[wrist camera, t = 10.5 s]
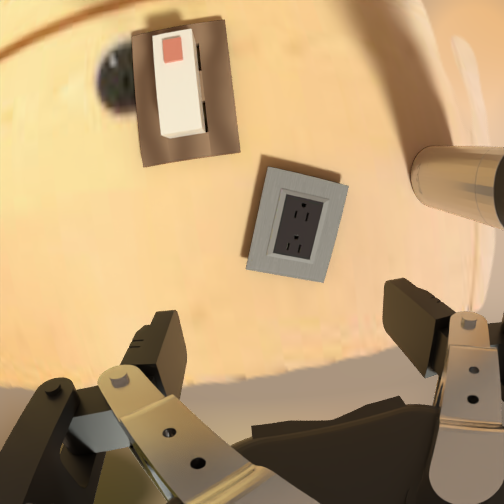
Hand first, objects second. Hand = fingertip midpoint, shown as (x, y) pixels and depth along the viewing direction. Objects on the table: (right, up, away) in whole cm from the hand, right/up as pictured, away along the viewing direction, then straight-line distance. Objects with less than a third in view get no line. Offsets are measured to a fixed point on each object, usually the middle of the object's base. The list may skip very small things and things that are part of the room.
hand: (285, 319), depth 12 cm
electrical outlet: (+4, +6, +31) cm, 32 cm away
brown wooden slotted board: (-10, +23, +24) cm, 35 cm away
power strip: (-10, +22, +24) cm, 35 cm away
